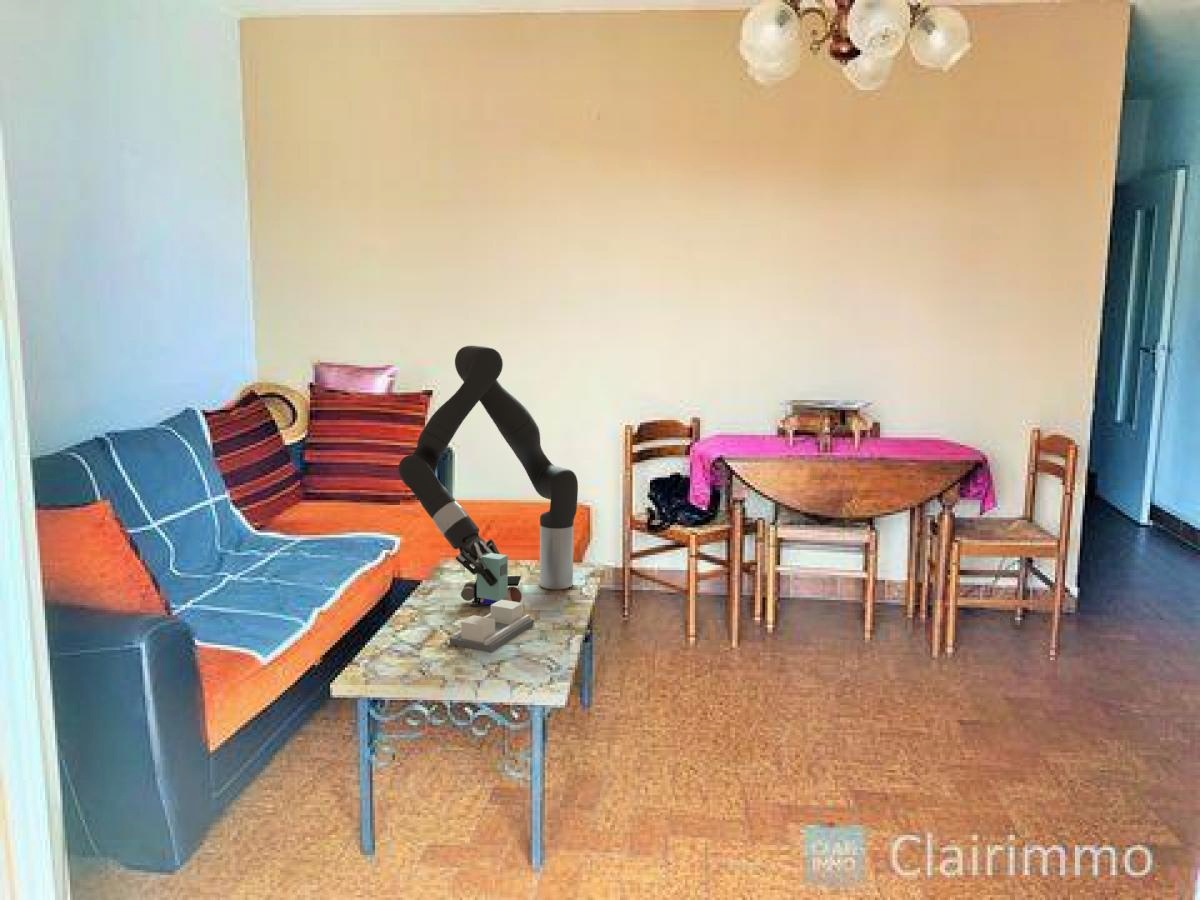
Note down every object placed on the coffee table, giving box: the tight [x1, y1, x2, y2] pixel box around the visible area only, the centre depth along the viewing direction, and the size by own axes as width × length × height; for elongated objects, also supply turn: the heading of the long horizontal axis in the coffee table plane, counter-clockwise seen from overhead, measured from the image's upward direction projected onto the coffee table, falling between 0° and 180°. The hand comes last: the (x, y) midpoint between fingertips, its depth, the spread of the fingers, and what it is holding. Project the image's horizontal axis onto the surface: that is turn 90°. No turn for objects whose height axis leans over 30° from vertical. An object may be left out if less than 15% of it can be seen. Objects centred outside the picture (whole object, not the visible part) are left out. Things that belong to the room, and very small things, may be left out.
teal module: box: [476, 553, 509, 601], centre depth 223 cm, size 4×6×10 cm, turn 65°
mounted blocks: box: [460, 600, 524, 643], centre depth 225 cm, size 18×6×4 cm, turn 155°
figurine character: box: [460, 575, 523, 607], centre depth 246 cm, size 7×8×15 cm
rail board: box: [449, 612, 534, 653], centre depth 225 cm, size 20×11×2 cm, turn 155°
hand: (499, 581), depth 223 cm, fingers closed on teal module, 4 cm apart
